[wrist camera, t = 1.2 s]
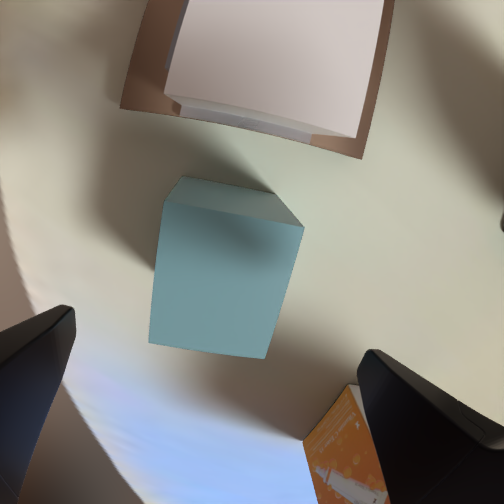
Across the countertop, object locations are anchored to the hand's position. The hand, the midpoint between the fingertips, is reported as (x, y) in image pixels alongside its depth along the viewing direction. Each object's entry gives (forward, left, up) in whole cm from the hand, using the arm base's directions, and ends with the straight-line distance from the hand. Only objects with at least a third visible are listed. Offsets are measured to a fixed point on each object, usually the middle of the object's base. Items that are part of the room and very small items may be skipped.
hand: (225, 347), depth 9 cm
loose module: (0, 0, -10) cm, 10 cm away
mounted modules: (0, -17, -7) cm, 19 cm away
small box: (-14, +14, -10) cm, 22 cm away
